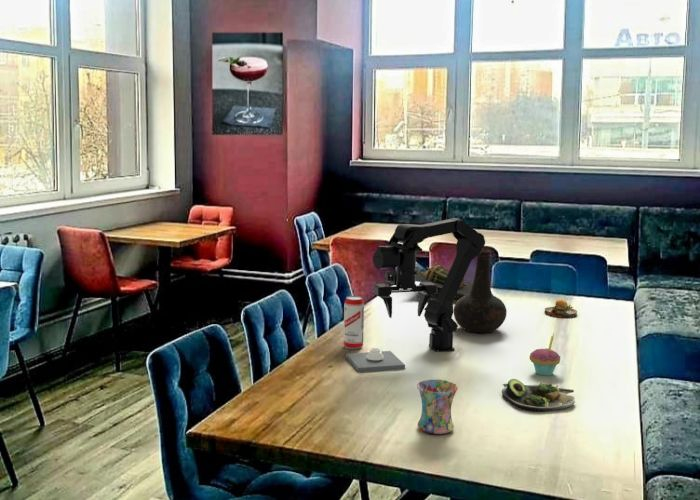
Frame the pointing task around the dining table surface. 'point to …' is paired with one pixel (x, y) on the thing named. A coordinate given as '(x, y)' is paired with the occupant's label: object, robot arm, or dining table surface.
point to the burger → (561, 310)
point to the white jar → (375, 354)
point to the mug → (436, 405)
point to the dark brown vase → (480, 302)
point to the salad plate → (536, 396)
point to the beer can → (353, 322)
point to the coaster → (375, 362)
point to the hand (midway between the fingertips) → (404, 316)
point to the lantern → (440, 279)
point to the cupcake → (545, 360)
